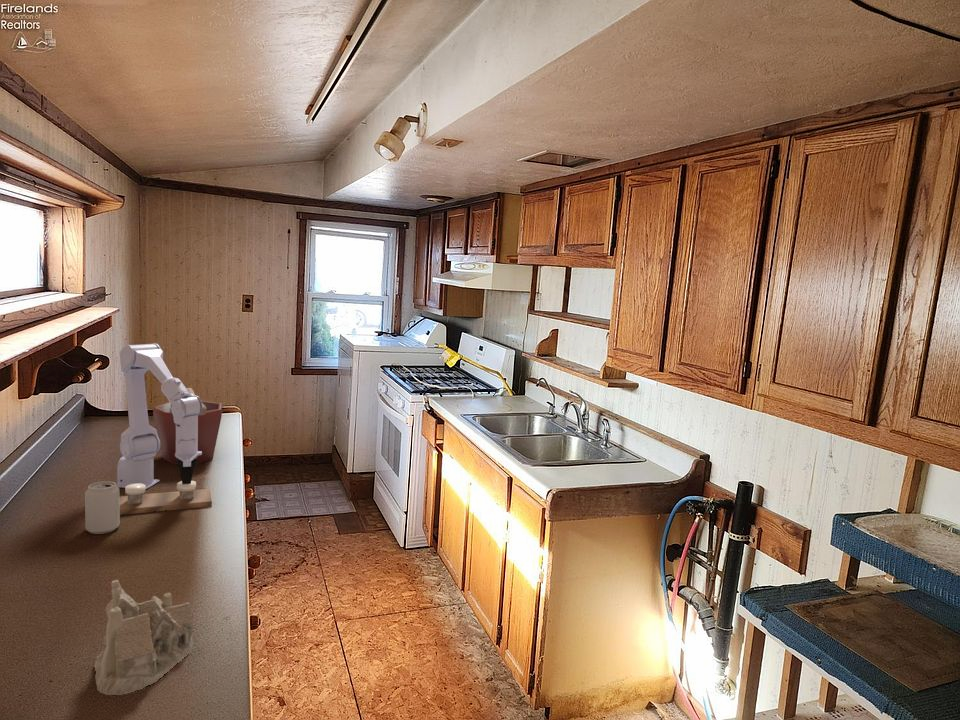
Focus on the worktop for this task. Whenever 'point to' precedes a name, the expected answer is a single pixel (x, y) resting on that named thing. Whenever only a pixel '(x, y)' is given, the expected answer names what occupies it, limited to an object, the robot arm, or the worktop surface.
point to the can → (102, 507)
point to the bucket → (206, 429)
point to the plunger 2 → (186, 486)
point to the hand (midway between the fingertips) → (186, 483)
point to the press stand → (164, 501)
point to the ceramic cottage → (141, 641)
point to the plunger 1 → (135, 489)
